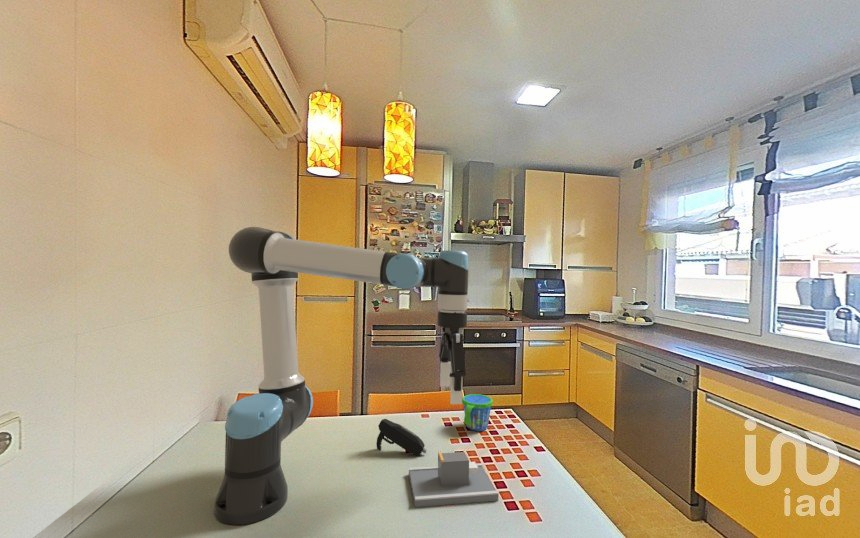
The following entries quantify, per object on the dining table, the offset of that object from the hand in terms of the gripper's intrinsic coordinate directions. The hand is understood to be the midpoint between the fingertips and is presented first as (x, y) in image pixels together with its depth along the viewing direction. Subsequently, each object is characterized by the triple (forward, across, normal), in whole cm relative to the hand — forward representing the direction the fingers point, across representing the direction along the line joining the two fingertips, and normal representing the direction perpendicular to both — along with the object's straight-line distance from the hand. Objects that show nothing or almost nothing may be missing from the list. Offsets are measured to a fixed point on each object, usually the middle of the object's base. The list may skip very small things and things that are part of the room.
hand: (450, 394), depth 94 cm
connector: (+22, 0, -3) cm, 22 cm away
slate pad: (+23, 0, -1) cm, 23 cm away
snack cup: (+23, +35, -18) cm, 45 cm away
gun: (+24, +19, +10) cm, 32 cm away
